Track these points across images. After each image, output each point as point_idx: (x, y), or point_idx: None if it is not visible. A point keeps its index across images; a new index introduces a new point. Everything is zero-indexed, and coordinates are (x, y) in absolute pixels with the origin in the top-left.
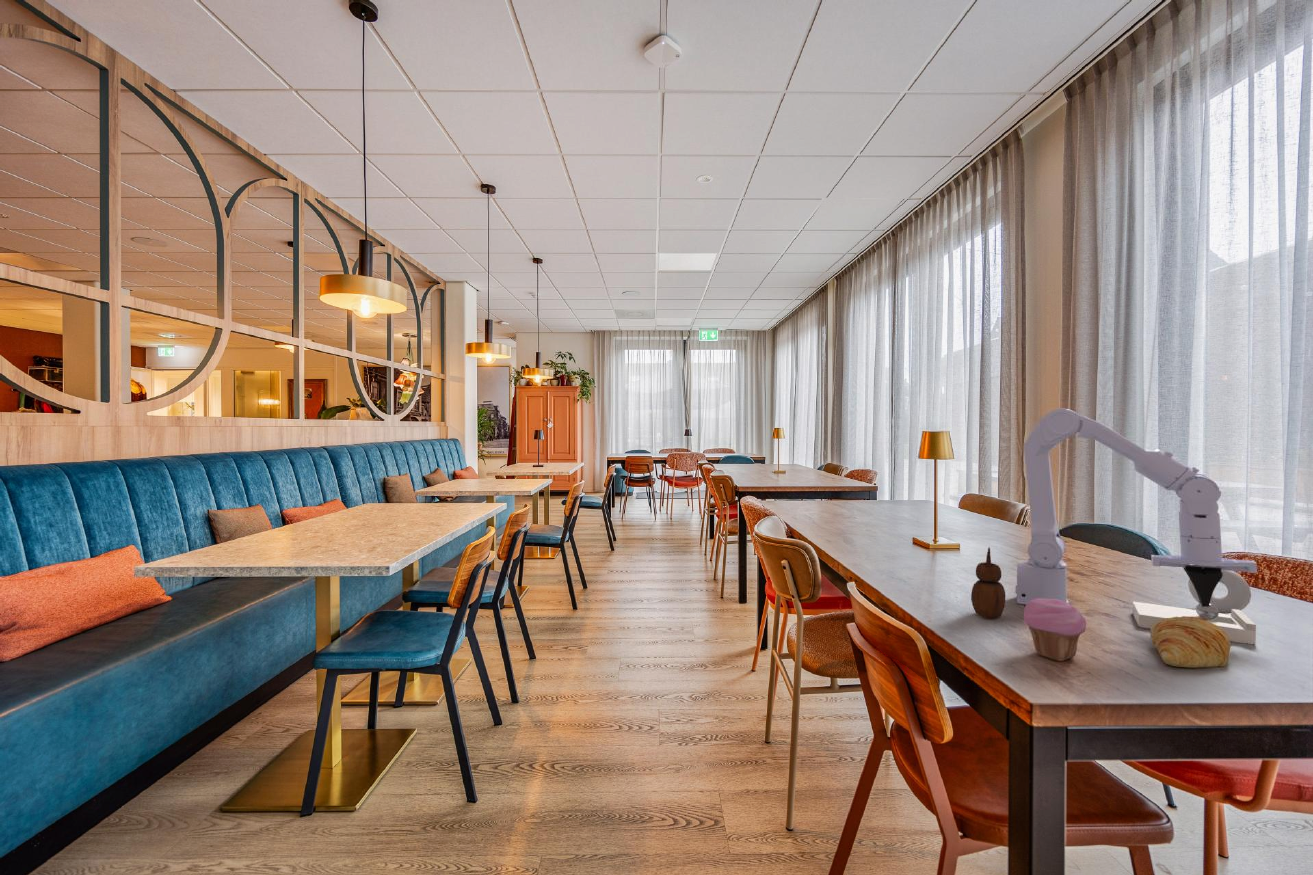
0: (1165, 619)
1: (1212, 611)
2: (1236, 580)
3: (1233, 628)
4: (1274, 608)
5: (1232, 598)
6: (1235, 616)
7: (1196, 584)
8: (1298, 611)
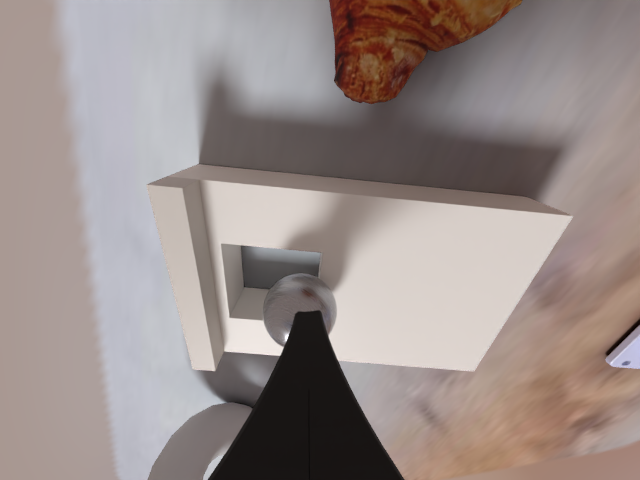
0: None
1: (288, 289)
2: None
3: (242, 183)
4: (152, 453)
5: (201, 446)
6: (214, 320)
7: (370, 440)
8: (119, 450)
